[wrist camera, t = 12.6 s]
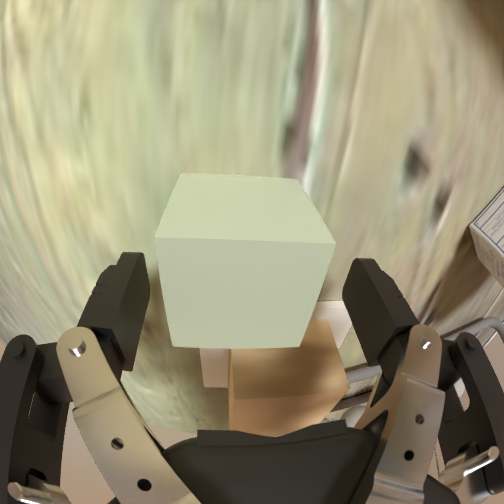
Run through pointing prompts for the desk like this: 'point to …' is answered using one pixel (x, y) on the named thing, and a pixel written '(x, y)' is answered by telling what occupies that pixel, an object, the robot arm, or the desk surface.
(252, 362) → the oak block
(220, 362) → the board
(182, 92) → the desk surface
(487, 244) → the medicine box
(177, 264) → the sage block
